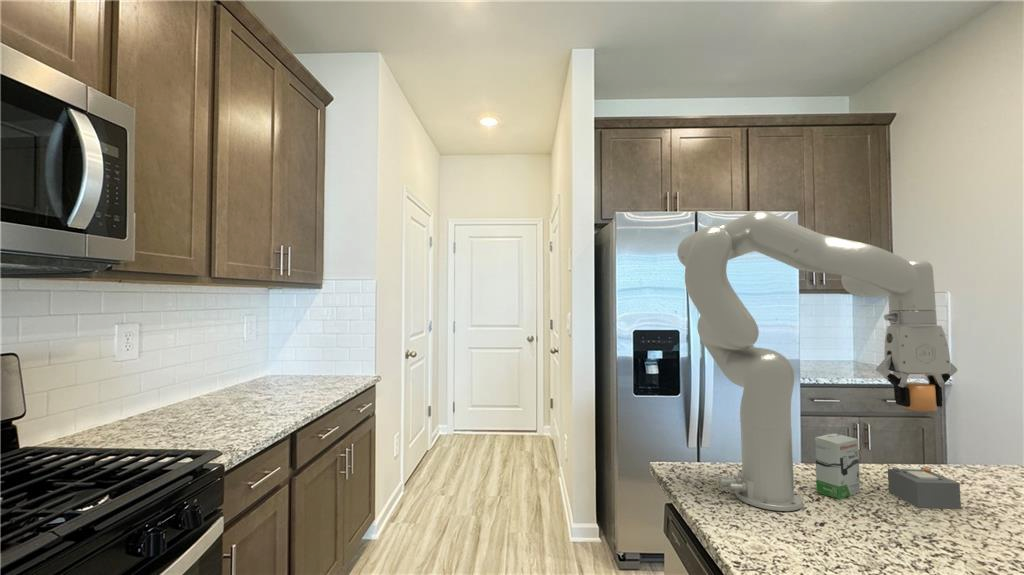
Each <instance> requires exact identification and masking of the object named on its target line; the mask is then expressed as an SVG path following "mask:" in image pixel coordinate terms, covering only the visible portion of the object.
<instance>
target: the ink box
mask: <svg viewBox="0 0 1024 575" xmlns="http://www.w3.org/2000/svg"><path fill="white" fill-rule="evenodd" d="M814 445H815V446H814V448H815V449H814V450H815V453H814V455H815V483H816V484H815V487H816V493H818V494H821V495H825V496H828V497H830V496H831V497H830V498H834V497H835V499H837V498H838V499H837V500H842V499H841V498H843V499H845V498H848V497H851V496H854V495H857V494H860V493H861V487H860V485H861V481H860V480H861V479H860V476H861V475H860V456H859V455H860V453H859V451H860V450H859V439H858V438H855V437H851V436H847V435H843V434H839V433H830V434H824V435H821V436H816V437H814ZM859 492H860V493H859ZM856 493H857V494H856ZM853 494H854V495H853ZM850 495H851V496H850ZM847 496H848V497H847ZM844 497H845V498H844Z"/></svg>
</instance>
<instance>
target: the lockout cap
mask: <svg viewBox="0 0 1024 575" xmlns="http://www.w3.org/2000/svg"><path fill="white" fill-rule="evenodd" d="M905 387H908V388H909V395H910V406H909V407H905V406H901V407H902V408H903V409H907V410H912V411H919V412H935V411H937V410H938V406H937V404H936V390H935V385H933V384H929V383H928V382H927V383H926V382H917V381H916V382H915V381H907V383H906V386H905Z"/></svg>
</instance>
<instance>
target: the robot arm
mask: <svg viewBox="0 0 1024 575" xmlns="http://www.w3.org/2000/svg"><path fill="white" fill-rule="evenodd" d="M754 252H757V253H759V254H761V255H763V256H766V257H769V258H771V259H773V260H776V261H778V262H780V263H783V264H785V265H787V266H790V267H792V268H794V269H797V270H799V271H800V270H801V271H803V272H804V271H805V272H809V273H820V274H831V275H832V274H833V275H839V276H841V285H842V288H843V289H844V290H845V291H846V292H848V293H849V294H851V295H853V296H857V297H862V298H870V297H872V298H873V297H886V296H887V299H888V300H887V302H888V314H884V315H883V319H884V320H885V321H887V322H888V321H889V325H887V326H886V330H885V338H884V355H883V356H884V359H883V360H882V361H881V363H880V364H879V365H878V366H877V367H876V369H875V370H876V372H877V373H878V374H879V375H881V376H883V377H884V379H886V380H887V381H888V382H889V383H890V385H891V386H893V393H894V394H893V395H894V401H895V404H896V405H898V406H901V407H902V406H905V407H909V406H910V395H909V388H908V387H905V386H906V383H907V382H908V380H909V375H924V376H925V379H926V381H927V383H928V384H933V385H935V390H936V404H937V408H938V407H939V408H941V407H943V390H942V389H943V388H945V386H946V383H947V382H948V381H949V379H951V377H953V375H955V373H957V372H958V369H957V367H956V366H955V365H954V364H953V363H952V362H951V354H950V348H949V345H948V340H947V337H946V333H945V330H944V328H943V326H942V325H938V318H937V308H936V307H937V306H936V295H935V294H936V292H935V280H934V268H933V265H932V264H931V263H930V262H929V261H928V260H907V259H905V258H903V257H902V256H900V255H898V254H895V253H892V252H891V251H888V250H886V249H883V248H881V247H878V246H875V245H873V244H868V243H863V242H860V241H855V240H850V239H846V238H842V237H841V238H840V237H838V236H837V237H836V236H831V235H826V234H822V233H820V232H816V231H814V230H812V229H809V228H807V227H804V226H802V225H800V224H797V223H794V222H792V221H790V220H789V219H785V218H784V217H781V216H778V215H777V214H774V213H771V212H768V211H764V210H758V211H751V212H749V213H747V214H745V215H743V216H740V217H738V218H736V219H734V220H731V221H729V222H726V223H724V224H721V225H719V226H716V225H712V226H706V227H704V228H701V229H699V230H697V231H695V232H693V233H691V234H689V235H687V236H686V237H684V238H683V239H682V240H681V242H680V243H679V244H678V247H677V258H678V260H679V263H681V265H683V266H684V267H685V268H684V282H685V284H684V285H685V289H686V291H687V295H688V296H689V298H690V300H691V302H692V304H693V305H694V306H695V309H696V310H697V311H698V314H700V316H699V318H698V320H697V326H696V327H697V328H696V329H697V334H698V336H699V339H700V341H701V343H702V344H703V345H704V347H705V348H706V350H707V351H708V353H709V354H710V356H711V358H712V359H713V360H714V362H715V363H716V365H717V366H718V368H719V369H720V370H721V372H722V373H723V374H724V376H725V377H726V378H727V379H728V380H729V381H730V382H731V383H733V384H734V385H737V386H739V387H740V388H741V387H742V388H743V390H742V395H741V399H740V400H741V401H740V407H739V422H740V446H741V447H740V448H741V471H737V475H734V476H733V477H728V476H725V477H724V476H723V477H722V476H719V477H718V484H719V485H718V486H720V487H721V488H722V487H723V488H724V487H725V488H727V487H728V488H729V490H730V491H734V494H735V496H736V497H737V499H738V500H740V501H741V502H743V503H745V504H747V505H750V506H752V507H756V508H759V509H764V510H768V511H769V510H770V511H776V512H793V511H797V510H800V509H802V508H803V507H804V498H803V497H802V496H801V495H800V494H798V493H797V492H795V487H794V486H795V484H794V482H795V481H794V480H795V478H794V457H793V436H792V435H793V432H792V431H793V430H792V398H793V393H794V392H793V391H794V384H795V371H794V367H793V366H792V364H791V362H790V360H789V359H787V357H786V356H785V355H783V354H782V353H780V352H777V351H775V350H772V349H768V348H763V347H756V346H754V345H755V344H756V342H757V341H758V338H759V334H760V332H759V331H760V330H759V327H758V324H757V322H756V320H755V318H754V317H753V316H752V315H751V313H750V311H749V310H748V309H747V307H746V305H744V303H743V301H742V300H741V299H740V297H739V296H738V294H737V292H735V290H734V287H733V286H732V285H731V283H730V281H729V279H728V274H727V265H728V261H730V260H732V259H735V258H738V257H741V256H744V255H746V254H749V253H754ZM891 372H892V373H891Z"/></svg>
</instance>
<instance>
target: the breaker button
mask: <svg viewBox="0 0 1024 575" xmlns="http://www.w3.org/2000/svg"><path fill="white" fill-rule="evenodd" d="M906 474H908V475H910V476H913V477H915V478H917V479H920V480H939V479H938V477H936V476H933V475H931V474H929V473H927V472H923V471H906Z"/></svg>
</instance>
